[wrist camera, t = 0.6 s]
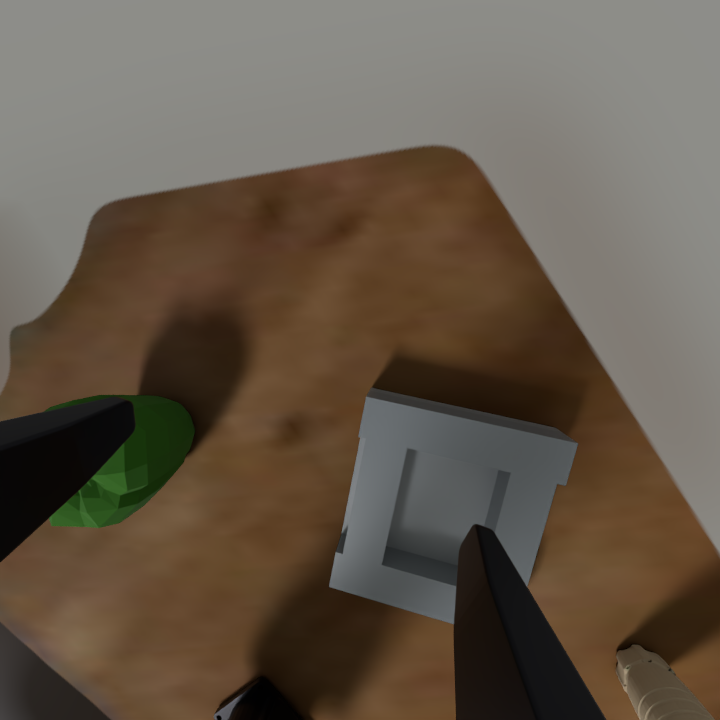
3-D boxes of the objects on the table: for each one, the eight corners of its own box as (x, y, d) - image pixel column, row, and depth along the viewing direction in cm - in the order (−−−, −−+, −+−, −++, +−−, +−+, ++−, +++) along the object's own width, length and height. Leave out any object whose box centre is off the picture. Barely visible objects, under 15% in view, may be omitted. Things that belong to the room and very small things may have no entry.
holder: (505, 604, 24) (519, 643, 21) (337, 556, 26) (328, 587, 23) (555, 427, 22) (578, 443, 19) (371, 387, 24) (366, 396, 21)
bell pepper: (125, 476, 28) (-29, 559, 18) (117, 382, 27) (-52, 415, 17) (216, 482, 26) (103, 575, 17) (210, 383, 26) (86, 420, 16)
